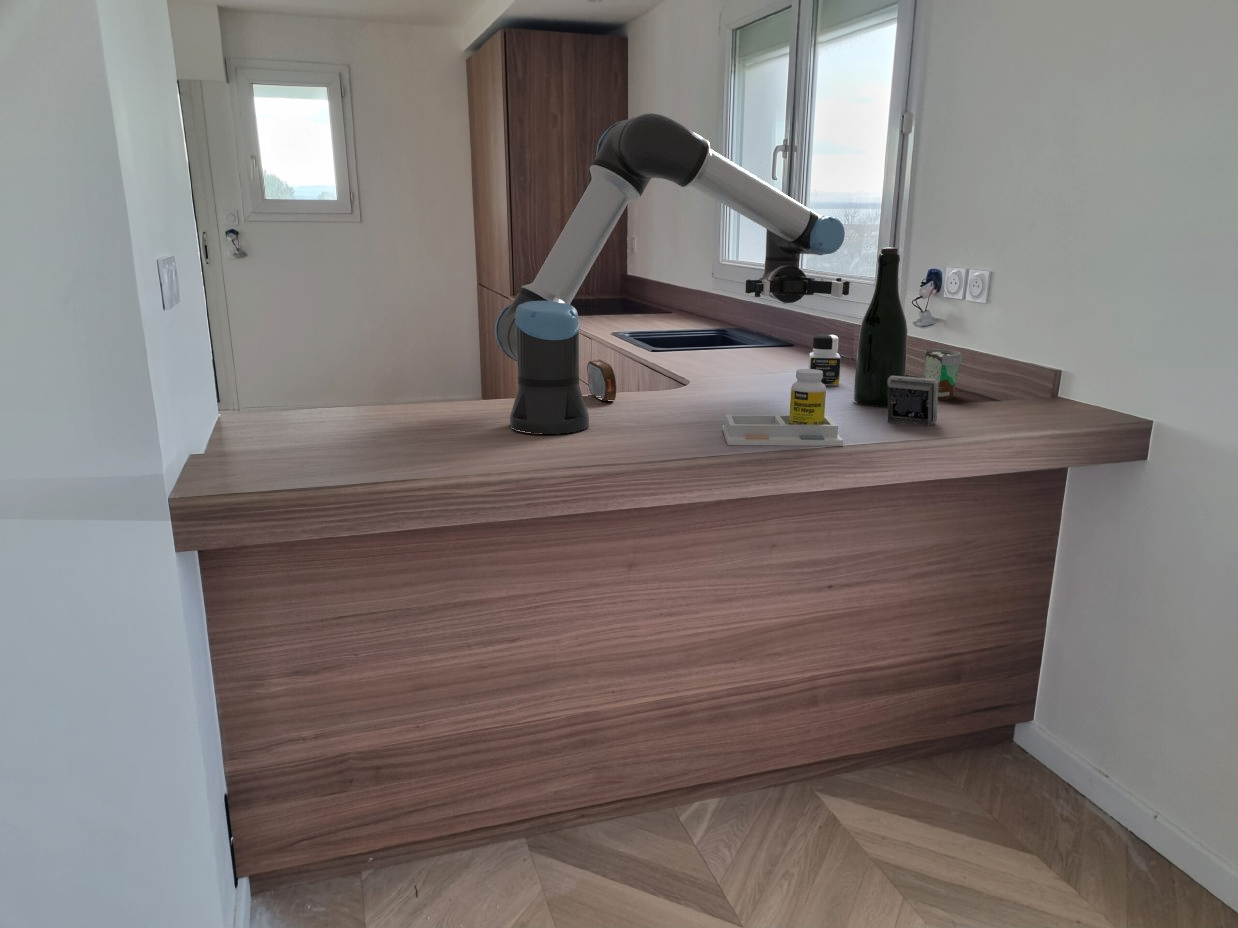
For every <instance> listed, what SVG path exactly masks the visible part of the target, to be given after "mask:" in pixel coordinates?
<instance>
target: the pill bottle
mask: <svg viewBox="0 0 1238 928" xmlns="http://www.w3.org/2000/svg"><path fill="white" fill-rule="evenodd" d="M795 378H796V379H797V380H796V381H795V382H794V383H792V385H791V388H790V400H789V401H790V404H789V415H790V417H789V425H824V415H825V409H826V395H827V394H826V393H827V387H826V385H824V384H823V383H821V380H822V378H823V371H821V370H815V369H809V368H800V369H799V368H798V369H796V371H795Z"/></svg>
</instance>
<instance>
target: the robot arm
mask: <svg viewBox="0 0 1238 928" xmlns="http://www.w3.org/2000/svg"><path fill="white" fill-rule="evenodd" d="M595 152H596V153H595V155H596V157H595V158H594V160H593V162H591V163H592V164H591V165H590V167H589V171H590V176H591V181H590V182H589V184H588V185H587V188H586V189H585V191H584V192H583V195H582V196H581V198H580V200H579V202H578V203H577V205H575V206H576V207H575V209H574V210H573V211H572V213H571V215H570V217H569V219H568V220H567V223H566V224H565V226H564V228H563V229H562V231H561V233H560V234H559V236H558V238H557V240H556V242H555V243H554V245H553V247H552V248H551V250H550V252H549V253H548V256H547V257H546V258H545V261H544V263H543V264H542V265H541V268H540V270H539V271H538V272H537V274H536V276H535V278H534V280H533V282H531V283H528V284H524V285H522V286H521V287H520V288H519V291H518V292H517V295H516V296H515V298H514V299H513V301H512V303H511V304H509V305H507V306H506V307H505V308H503V310H501V312H499V314H498V316H497V318H496V321H495V323H494V324H495V326H494V336H495V340H496V342H497V344H498V347H499V348H500V349H501V350H502V352H503V353H504V354H505V355H506V356H507V357H508V358H510V359H512V360H513V361H514V362H516V363H517V365H516V366H517V383H518V384H517V391H516V394H515V397H514V402H513V405H512V409H511V412H510V415H509V424H510V425H509V426H511V427H512V428H514V429H516V430H520V431H525V432H531V433H542V434H555V435H561V434H560V433H567V434H570V433H569V432H573V433H577V432H576V431H578V432H581V431H580V430H582V431H584V430H587V429H588V428H589V427H590V415H589V411H588V408H587V405H586V403H585V400H584V396H583V393H582V390H581V387H580V334H579V332H580V328H581V327H580V326H581V325H580V322H579V314H578V310H577V309H576V308H575V307H574V306H573V305H572V304H571V303H572V301H573V300H574V298H575V296H576V295H577V293H578V291H579V289H580V287H581V285H582V284H583V282H584V280H585V279H586V277H587V275H588V274H589V272H590V270H591V268H592V267H593V265H594V263H595V262H596V259H597V258H598V256H599V254H600V253H601V251H602V250H603V247H604V246H605V244H606V243H607V240H608V239H609V237H610V235H611V233H612V232H613V230H614V228H615V227H616V225H617V224H618V222H619V220H620V218H621V216H622V215H623V212H624V211H625V209H626V207H627V206H628V204H629V203H631V202H635V201H639V200H640V199H641V196H642V195H643V193H644V191H645V189H646V188H647V187H648V185H649V184H650V181H651V179H653V178H655V179H663V180H666V181H668V182H671V183H673V184H676V185H678V186H680V187H682V188H687V187H689V186H690V187H692V188H694V189H695V190H697V191H699V192H702V193H703V194H705V195H706V196H708V197H710V198H712V199H714V200H715V201H717V202H719V203H720V204H722V205H723V206H726V207H727V208H729V209H731V210H733V211H735V212H736V213H738V214H739V215H741V216H743V217H744V218H746V219H749V220H750V221H752V222H753V223H756V224H757V225H759V226H761V227H763V228H764V229H766V232H765V233H766V237H765V259H764V272H763V275H762V277H760V278H756V279H749V278H748V279H746V280H745V294H753V293H754V297H755V298H761V295H762V296H764V297H770V298H773V300H774V299H775V300H777V301H780V302H781V304H783V305H786V304H793V303H796V302H798V301H800V300H801V299H802V298H803V297H804V296H813V295H814V294H822V295H823V294H825V295H831V296H832V297H837V298H842V297H843V296H849V295H850V283H851V282H850V281H848V280H845V281H842V277H836V279H835V280H826V279H822V278H821V279H819V280H818V279H817V280H816V279H815V277H807V275H806V274H805V272H804V271H803V270H802V269H800V260H801V259H800V258H801V255H813V256H814V255H815V256H824V255H831V254H835V252H837V251H838V250H839V249H840V248H841V246H843V244H844V240H845V236H846V235H845V234H846V232H845V228H844V225H843V223H842V221H841V220H840V219H839V218H837V217H834V216H830V215H821V214H819V213H817V212H816V211H814V210H812V209H810V208H809V207H806V206H805V205H804V204H801V203H800V202H798V201H796V200H795V199H793V198H791V197H790V196H788V195H787V194H785V193H783V192H782V191H780V190H779V189H777V188H776V187H773V186H772V185H770V184H769V183H767V182H765V181H764V180H762V179H760V178H758V177H757V175H754V174H753V173H750V172H749V171H748V170H746V169H744V168H742V167H741V166H739V165H738V164H736V163H734V162H732V161H730V160H729V159H728V158H726V157H724V156H722V155H721V154H719V153H718V152H716V151H714V150H713V149H711V144H710V142H709V140H707V139H706V138H704V137H702V136H701V135H699V134H698V133H696V132H694V131H693V130H691V129H689V128H688V127H686V126H684V125H683V124H681V123H679V122H678V121H676V120H673V119H672V118H670V117H668V116H665V115H661V114H660V113H659V114H658V113H651V112H649V113H643V114H640V115H638V116H635V117H632V118H629V119H624V120H620V121H618V122H616V123H613V124H612V125H610V127H608V128H607V129H606V130H605V131H604V132H603V134H602V135H601V137H600V138H599V140H598V143H597V147H596V151H595ZM586 428H587V429H586ZM583 429H584V430H583Z"/></svg>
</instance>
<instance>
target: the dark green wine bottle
mask: <svg viewBox="0 0 1238 928" xmlns="http://www.w3.org/2000/svg"><path fill="white" fill-rule="evenodd" d="M900 262H901V256H900V253H899V248H897V247H882V248H881V250H880V253H879V254H878V258H877V273H876V281H875V282H876V283H875V288H874V292H873V294H872V298H871V300H870V303H869V305H868V307H867V309H866V312H864V313H865V314H864V316H863V318H862V321H861V324H860V328H859V334H858V335H859V336H858V341H857V342H858V343H857V352H856V363H855V375H854V387H853V400H854V402H855V403H857V404H860V405H863V406H870V407H888V378H889V377H890V376H902V377H906V374H907V373H906V372H907V369H906V368H907V358H908V357H907V355H908V323H907V318H906V315H905V312H904V309H903V304H902V302H901V299H900V292H899V290H900V289H899V271H900V269H899V268H900Z"/></svg>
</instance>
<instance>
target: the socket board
mask: <svg viewBox="0 0 1238 928" xmlns="http://www.w3.org/2000/svg"><path fill="white" fill-rule="evenodd" d="M789 417H790V414H725V424H722V433H723V435H724V438H725V441H726V443H727V446H789V447H791V446H793V447H795V446H796V447H797V446H799V447H800V446H803V447H805V446H806V447H808V446H811V447H812V446H813V447H814V446H815V447H817V446H818V447H819V446H820V447H823V446H824V447H827V446H828V447H833V446H834V447H843V446H844V439H843V438H842V437H841V436H840V435H839V434H838V433H839V425H838V424H837V423H836V422H835V421H834V420H833V419H832V418H831V417H830V415H828V414H824V425H789Z"/></svg>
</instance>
